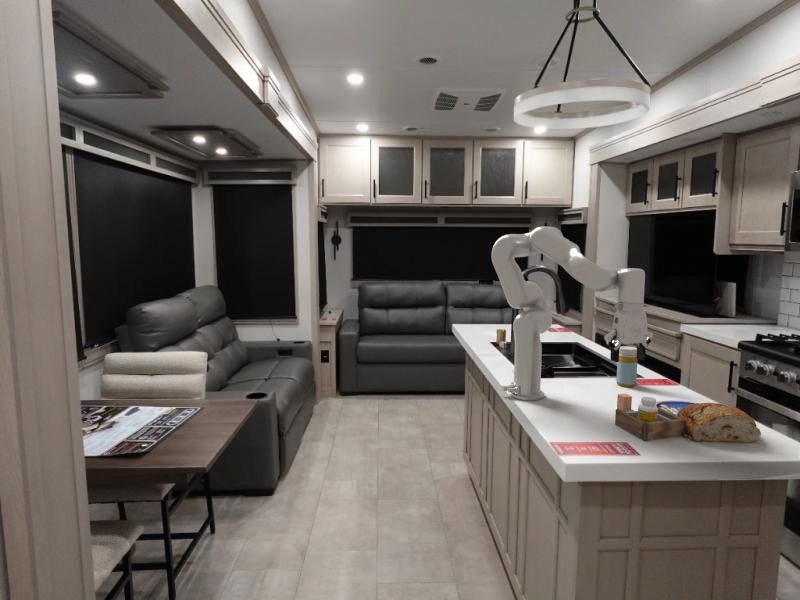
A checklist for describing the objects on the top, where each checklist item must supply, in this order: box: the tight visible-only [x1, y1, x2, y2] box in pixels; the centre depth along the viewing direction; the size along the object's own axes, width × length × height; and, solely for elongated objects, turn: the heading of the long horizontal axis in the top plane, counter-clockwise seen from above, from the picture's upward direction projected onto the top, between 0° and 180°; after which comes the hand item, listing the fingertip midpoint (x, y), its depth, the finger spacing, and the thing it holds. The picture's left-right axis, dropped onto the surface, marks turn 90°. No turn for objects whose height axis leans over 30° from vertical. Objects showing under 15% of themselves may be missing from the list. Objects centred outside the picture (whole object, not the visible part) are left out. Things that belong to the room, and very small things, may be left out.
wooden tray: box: [614, 406, 686, 442], centre depth 149 cm, size 14×13×5 cm
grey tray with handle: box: [616, 393, 671, 421], centre depth 153 cm, size 11×18×7 cm, turn 14°
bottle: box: [616, 345, 638, 388], centre depth 193 cm, size 7×7×15 cm
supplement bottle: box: [637, 396, 659, 423], centre depth 149 cm, size 5×5×10 cm
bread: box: [676, 402, 762, 443], centre depth 147 cm, size 20×18×10 cm
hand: (627, 360), depth 157 cm, fingers open, 9 cm apart
